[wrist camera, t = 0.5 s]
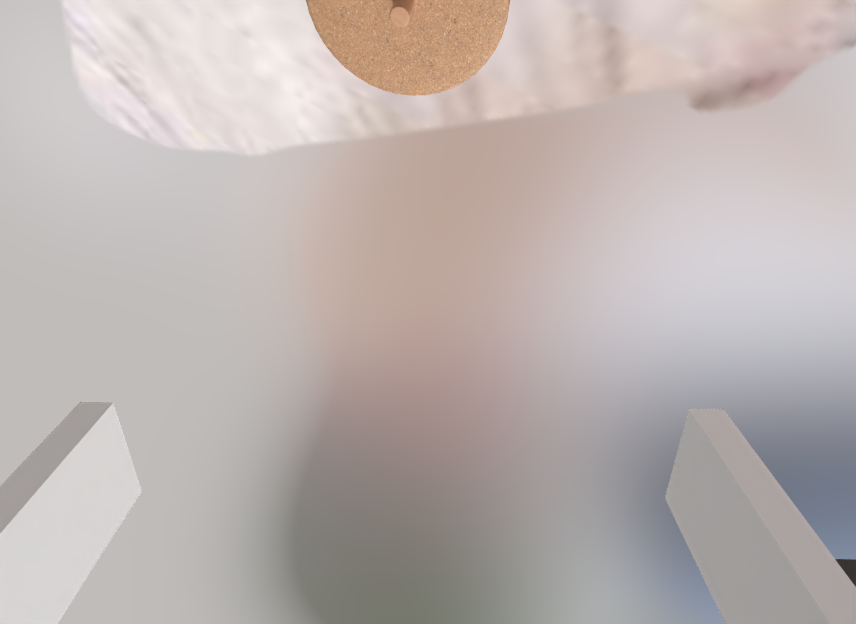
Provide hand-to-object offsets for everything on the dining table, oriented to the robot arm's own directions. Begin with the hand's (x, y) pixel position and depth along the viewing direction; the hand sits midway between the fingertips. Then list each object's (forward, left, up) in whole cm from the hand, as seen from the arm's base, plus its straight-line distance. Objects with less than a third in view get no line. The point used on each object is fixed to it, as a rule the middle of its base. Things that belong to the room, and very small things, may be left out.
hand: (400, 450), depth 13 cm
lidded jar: (0, -4, -32) cm, 33 cm away
